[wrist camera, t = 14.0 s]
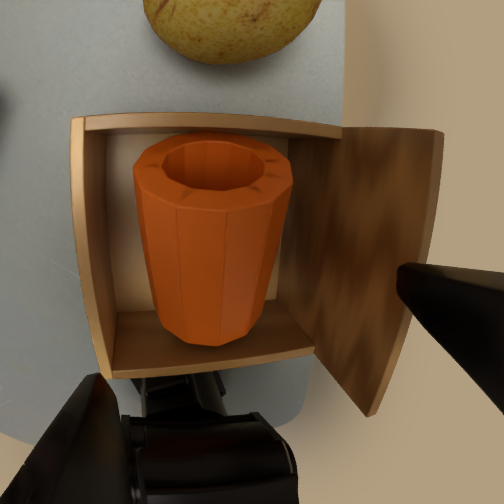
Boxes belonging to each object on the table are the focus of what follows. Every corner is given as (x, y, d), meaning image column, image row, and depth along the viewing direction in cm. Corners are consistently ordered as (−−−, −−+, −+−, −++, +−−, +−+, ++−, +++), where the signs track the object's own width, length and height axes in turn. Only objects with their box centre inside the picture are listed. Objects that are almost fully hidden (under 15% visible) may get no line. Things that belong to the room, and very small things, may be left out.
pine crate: (280, 301, 23) (376, 414, 12) (110, 316, 19) (98, 468, 9) (294, 130, 19) (445, 132, 8) (97, 127, 15) (13, 99, 5)
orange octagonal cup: (281, 321, 17) (324, 189, 11) (177, 362, 14) (158, 229, 8) (232, 249, 20) (246, 125, 14) (142, 276, 18) (122, 144, 12)
